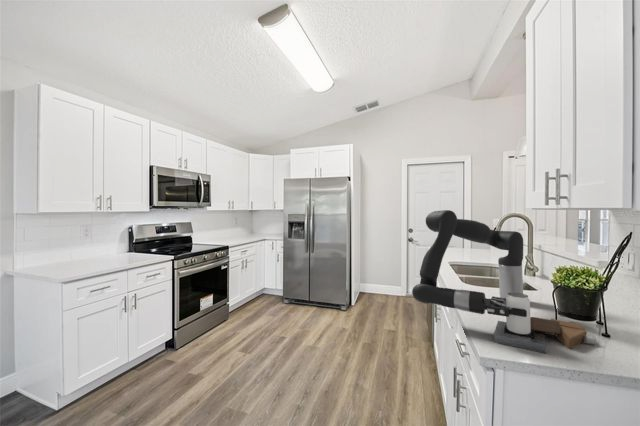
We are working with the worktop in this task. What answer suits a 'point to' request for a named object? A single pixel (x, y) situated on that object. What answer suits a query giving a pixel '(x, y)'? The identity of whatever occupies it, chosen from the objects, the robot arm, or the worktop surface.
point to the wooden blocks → (562, 331)
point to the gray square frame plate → (520, 338)
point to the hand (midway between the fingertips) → (526, 310)
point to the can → (518, 322)
